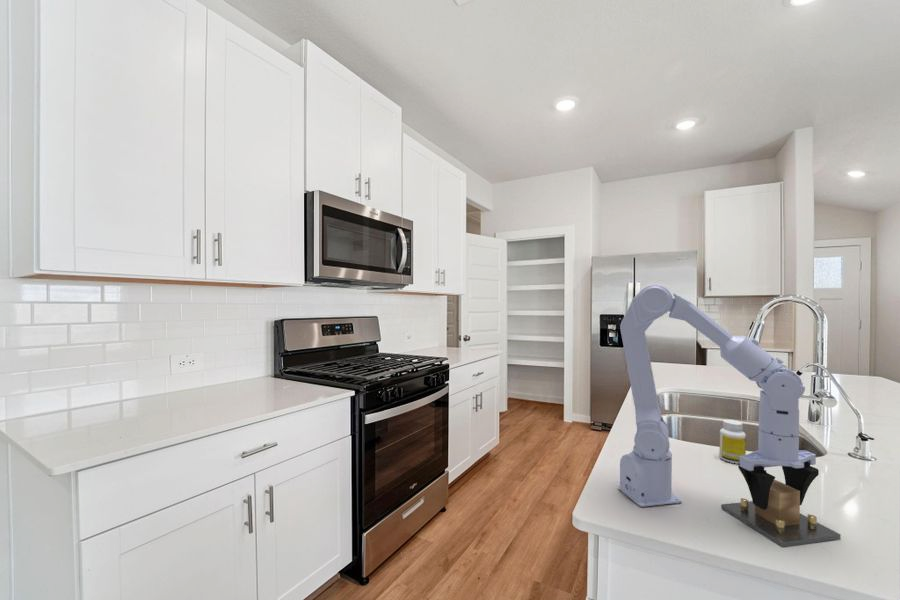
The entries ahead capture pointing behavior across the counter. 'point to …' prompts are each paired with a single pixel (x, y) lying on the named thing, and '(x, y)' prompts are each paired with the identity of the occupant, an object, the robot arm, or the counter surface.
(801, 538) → the plate
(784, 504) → the oak block
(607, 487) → the counter surface
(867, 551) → the counter surface
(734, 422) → the supplement bottle
